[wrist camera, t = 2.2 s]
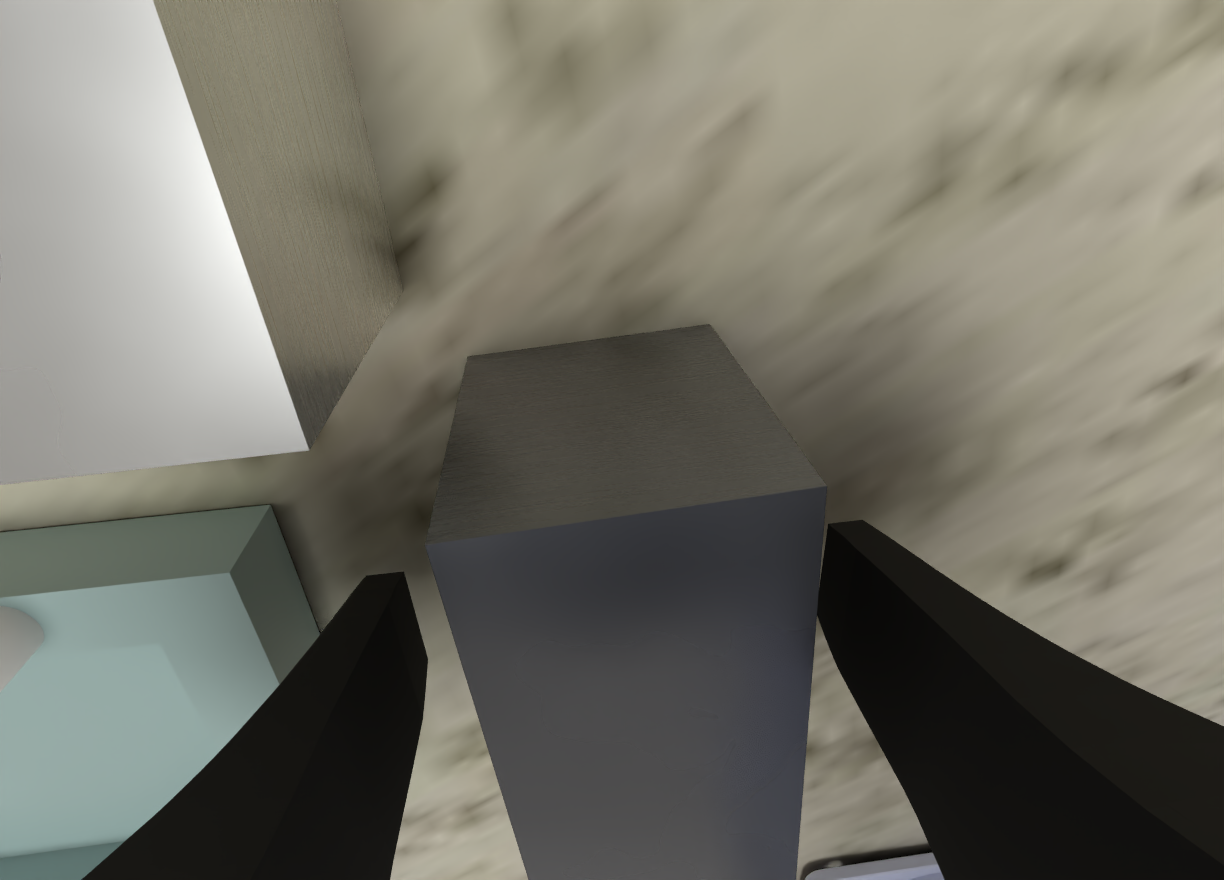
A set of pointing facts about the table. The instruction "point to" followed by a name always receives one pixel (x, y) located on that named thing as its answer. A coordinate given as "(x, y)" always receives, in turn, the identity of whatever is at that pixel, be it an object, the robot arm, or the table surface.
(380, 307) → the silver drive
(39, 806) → the tray
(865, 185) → the table surface
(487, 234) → the table surface
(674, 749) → the dark grey rectangular block
